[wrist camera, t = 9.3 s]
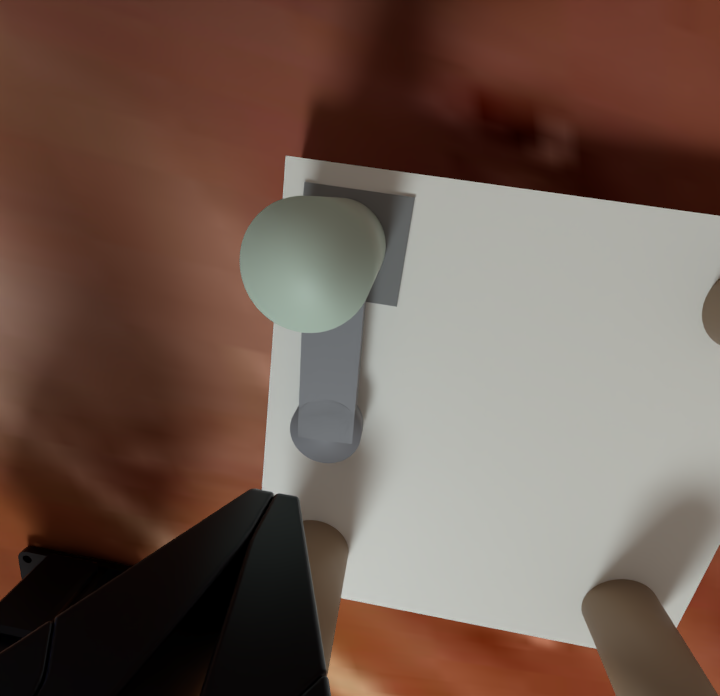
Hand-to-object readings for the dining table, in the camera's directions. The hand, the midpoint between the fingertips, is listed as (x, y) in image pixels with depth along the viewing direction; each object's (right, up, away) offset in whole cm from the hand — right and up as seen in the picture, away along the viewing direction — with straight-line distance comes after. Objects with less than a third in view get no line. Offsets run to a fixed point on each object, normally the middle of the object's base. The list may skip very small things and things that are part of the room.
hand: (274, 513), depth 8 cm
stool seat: (+7, 0, +11) cm, 13 cm away
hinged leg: (+1, +3, +8) cm, 8 cm away
